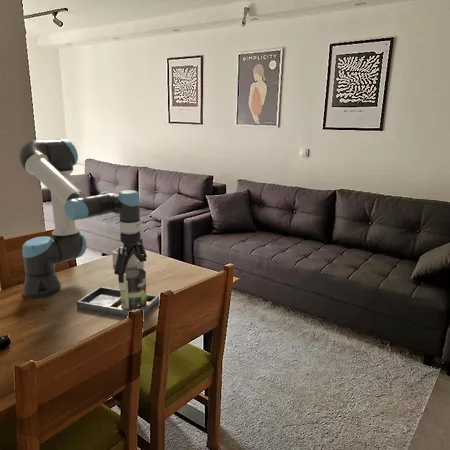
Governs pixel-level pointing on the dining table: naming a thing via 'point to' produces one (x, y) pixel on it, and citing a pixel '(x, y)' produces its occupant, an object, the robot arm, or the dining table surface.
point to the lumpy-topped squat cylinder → (131, 262)
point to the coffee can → (134, 290)
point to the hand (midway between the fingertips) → (132, 282)
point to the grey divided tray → (111, 302)
